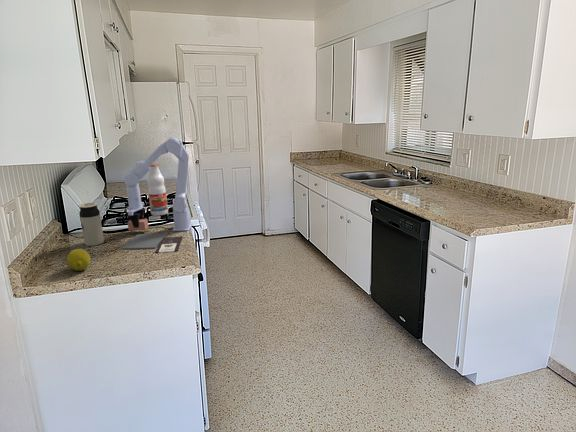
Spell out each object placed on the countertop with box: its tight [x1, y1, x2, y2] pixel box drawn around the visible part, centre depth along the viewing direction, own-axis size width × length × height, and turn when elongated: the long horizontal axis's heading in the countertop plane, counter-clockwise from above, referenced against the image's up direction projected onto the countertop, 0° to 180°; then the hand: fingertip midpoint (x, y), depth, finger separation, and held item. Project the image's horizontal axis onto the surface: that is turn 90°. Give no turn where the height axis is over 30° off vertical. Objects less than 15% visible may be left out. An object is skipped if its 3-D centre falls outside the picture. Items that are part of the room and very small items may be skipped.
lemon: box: [66, 248, 91, 272], centre depth 149 cm, size 11×8×8 cm
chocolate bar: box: [154, 235, 183, 254], centre depth 173 cm, size 9×1×18 cm
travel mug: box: [78, 202, 105, 247], centre depth 175 cm, size 8×8×18 cm
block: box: [127, 218, 149, 231], centre depth 190 cm, size 8×4×4 cm, turn 90°
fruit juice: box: [146, 162, 169, 216], centre depth 219 cm, size 9×9×28 cm
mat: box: [121, 233, 168, 250], centre depth 178 cm, size 18×14×1 cm
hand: (138, 225), depth 190 cm, fingers closed on block, 4 cm apart
